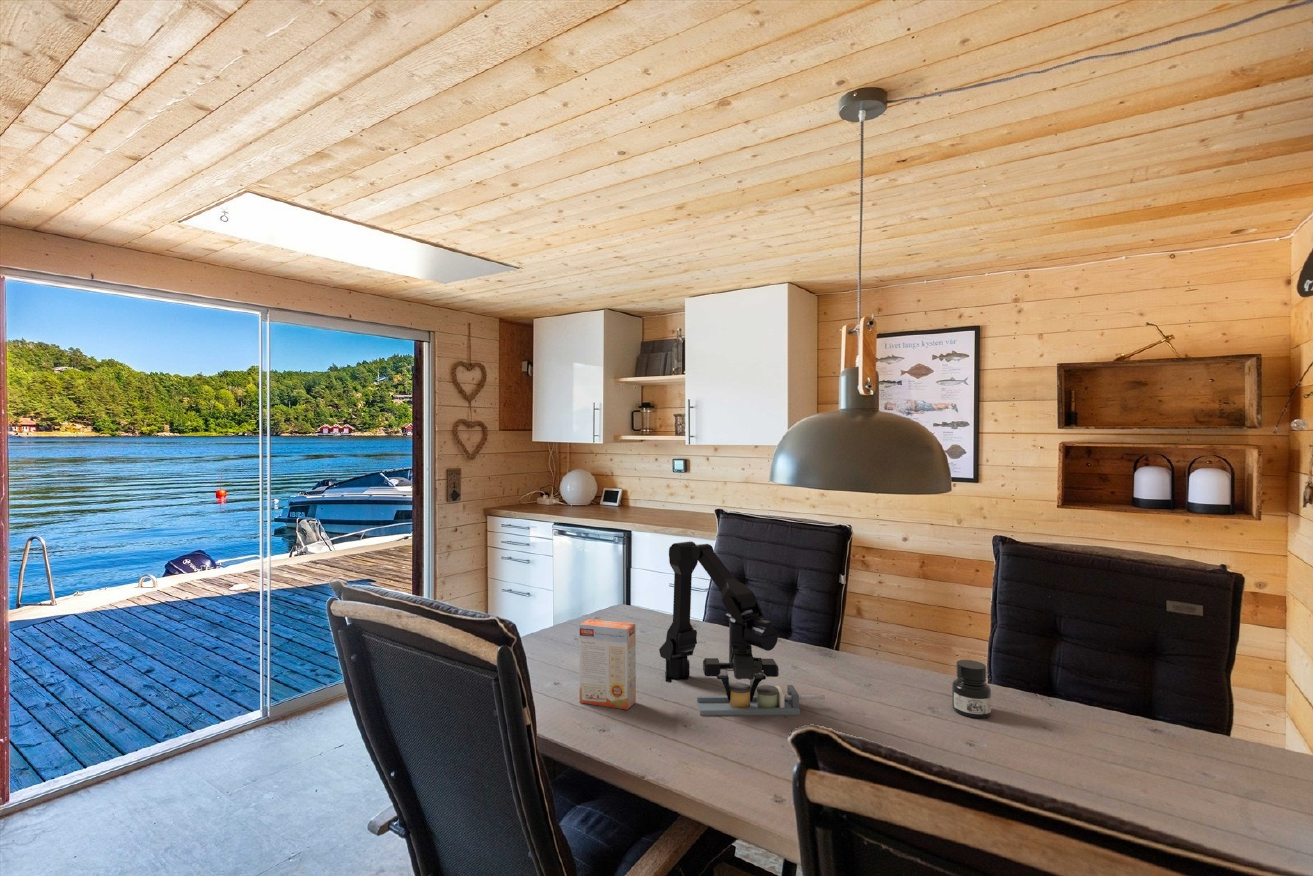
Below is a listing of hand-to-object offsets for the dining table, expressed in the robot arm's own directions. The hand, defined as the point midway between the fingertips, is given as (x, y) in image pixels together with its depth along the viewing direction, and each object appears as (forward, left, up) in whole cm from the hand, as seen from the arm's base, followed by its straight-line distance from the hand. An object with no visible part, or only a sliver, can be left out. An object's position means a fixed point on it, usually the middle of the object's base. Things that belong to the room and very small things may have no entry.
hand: (739, 700), depth 158 cm
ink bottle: (+59, -2, -3) cm, 59 cm away
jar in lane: (+7, 0, -2) cm, 7 cm away
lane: (+2, 0, -2) cm, 3 cm away
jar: (0, 0, -1) cm, 1 cm away
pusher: (+16, 0, -1) cm, 16 cm away
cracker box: (-34, +5, -3) cm, 35 cm away
